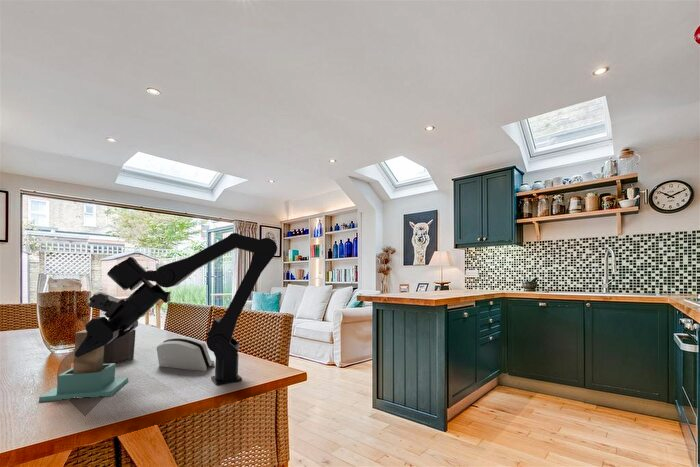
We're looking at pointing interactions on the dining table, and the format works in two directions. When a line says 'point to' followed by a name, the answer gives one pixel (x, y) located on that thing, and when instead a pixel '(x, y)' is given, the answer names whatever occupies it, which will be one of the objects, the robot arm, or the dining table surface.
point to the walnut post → (87, 357)
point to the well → (85, 384)
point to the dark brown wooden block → (120, 349)
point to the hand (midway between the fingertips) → (85, 351)
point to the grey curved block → (184, 354)
